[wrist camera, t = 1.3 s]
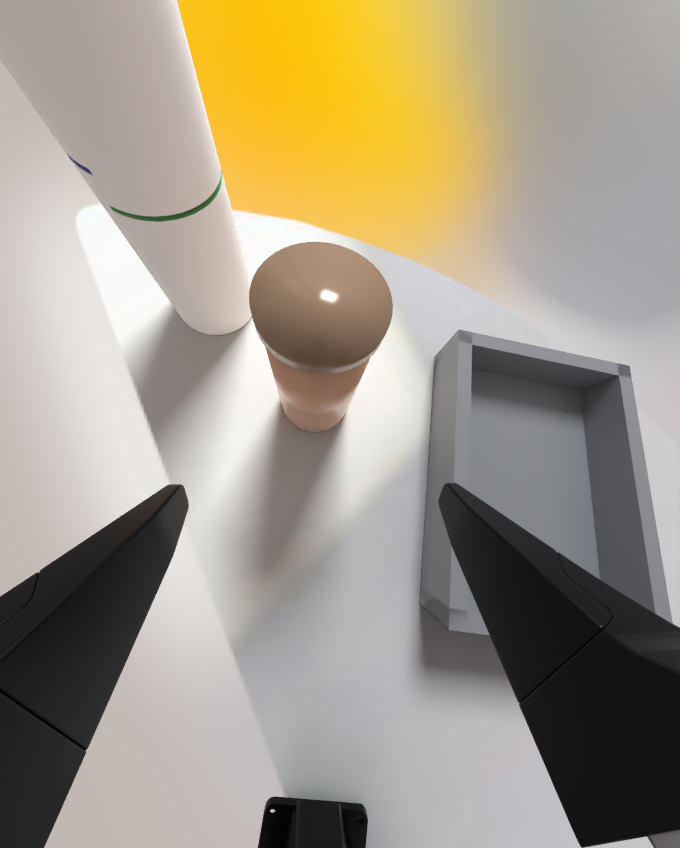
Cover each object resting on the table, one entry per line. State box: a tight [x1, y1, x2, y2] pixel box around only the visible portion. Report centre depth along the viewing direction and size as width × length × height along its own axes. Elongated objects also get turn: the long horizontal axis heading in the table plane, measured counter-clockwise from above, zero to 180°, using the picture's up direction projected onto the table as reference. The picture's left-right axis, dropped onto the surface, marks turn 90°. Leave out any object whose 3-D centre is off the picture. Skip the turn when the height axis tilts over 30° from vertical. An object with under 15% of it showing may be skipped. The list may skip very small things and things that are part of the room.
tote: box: [420, 330, 672, 635], centre depth 22 cm, size 22×16×4 cm
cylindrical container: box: [0, 0, 252, 335], centre depth 14 cm, size 7×7×25 cm
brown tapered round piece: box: [249, 242, 393, 432], centre depth 18 cm, size 6×6×13 cm
